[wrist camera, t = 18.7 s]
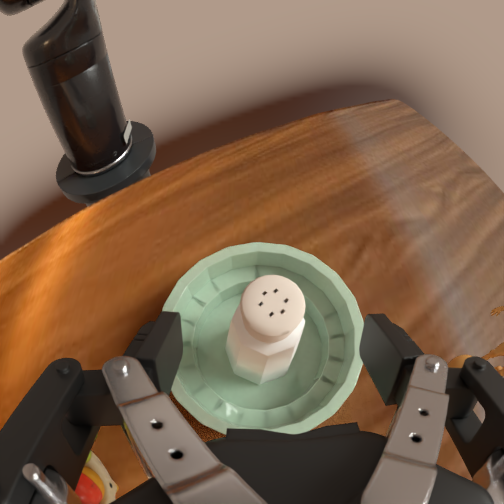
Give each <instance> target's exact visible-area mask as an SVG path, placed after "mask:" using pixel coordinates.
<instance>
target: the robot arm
mask: <svg viewBox="0 0 504 504" xmlns="http://www.w3.org/2000/svg"><path fill="white" fill-rule="evenodd" d="M43 1H44V0H0V11H1V12H2V13H3V14H5V15H15V14H18V13H20V12H22V11H25V10H27V9H29V8H30V7H32V6H34V5H36V4H38V3H40V2H43ZM22 52H23V56H24V59H25V62H26V65H27V68H28V70H29V73H30V76H31V78H32V81H33V83H34V86H35V88H36V90H37V93H38V95H39V98H40V100H41V102H42V105H43V107H44V109H45V112H46V114H47V116H48V118H49V120H50V123H51V125H52V127H53V129H54V131H55V133H56V135H57V137H58V139H59V141H60V143H61V145H62V147H63V149H64V151H65V154H66V156H67V157H68V159H69V161H70V163H71V167H72V169H73V170H74V172H75V173H76V174H77V175H78V176H81V177H86V178H89V177H96V176H99V175H102V174H105V173H107V172H109V171H111V170H113V169H114V168H116V167H117V166H119V165H120V164H121V163H122V162H123V161H124V160H125V159H126V158H127V157H128V156H129V154H130V153H131V151H132V148H133V139H132V136H131V133H130V132H131V129H132V126H131V122H130V120H129V122H128V124H127V122H126V119H125V115H124V112H123V108H122V105H121V102H120V98H119V95H118V91H117V87H116V84H115V80H114V77H113V73H112V69H111V65H110V61H109V57H108V53H107V49H106V45H105V40H104V36H103V32H102V27H101V23H100V18H99V14H98V10H97V5H96V0H65V1H64V3H63V4H62V6H61V7H60V8H59V10H58V11H57V12H56V13H55V15H54V16H53V17H52V18H51V19H50V20H49V21H48V22H47V23H46V24H45V25H44V26H43V27H41V28H40V29H39V30H38V31H37V32H36V33H35V34H34V35H32V36H31V37H30V38H29V40H27V41H26V43H25V44H24V46H23V49H22ZM359 354H360V358H361V360H362V362H363V363H364V365H365V367H366V369H367V371H368V373H369V374H370V376H371V378H372V380H373V382H374V384H375V386H376V388H377V389H378V391H379V393H380V395H381V397H382V399H383V401H384V403H385V405H386V406H387V405H393V404H397V405H398V407H397V409H396V412H395V414H394V417H393V419H392V421H391V424H390V426H389V429H388V431H387V433H386V435H385V436H382V435H379V434H376V433H372V432H366V431H360V430H359V427H358V425H357V422H356V423H348V424H340V425H331V426H325V427H321V428H318V429H314V430H311V431H307V432H303V433H300V434H287V433H281V432H274V431H268V430H263V429H235V428H227V431H226V437H224V438H218V439H214V440H210V441H207V442H205V443H204V442H203V441H202V440H201V438H200V437H199V436H198V435H197V433H196V432H195V431H194V430H193V428H192V427H191V426H190V425H189V423H188V422H187V421H186V419H185V418H184V417H183V416H182V414H181V413H180V412H179V410H178V409H177V407H176V406H175V405H174V403H173V402H172V401H171V399H170V398H169V394H170V391H171V388H172V385H173V382H174V379H175V376H176V373H177V371H178V368H179V365H180V362H181V359H182V355H183V338H182V327H181V316H180V313H179V312H169V311H162V312H161V313H160V315H159V316H158V318H157V320H156V321H155V322H153V321H149V322H148V323H146V324H145V325H143V326H142V327H141V328H140V330H139V331H138V333H137V335H136V336H135V337H134V340H132V342H131V343H130V345H129V346H128V348H127V350H126V351H125V353H124V354H123V356H119V357H114V358H112V359H110V360H108V361H107V362H105V364H104V365H103V367H102V370H82V368H81V364H80V363H79V362H78V361H77V360H75V359H72V358H62V359H58V360H55V361H54V362H52V363H51V364H50V365H49V366H48V367H47V368H46V369H45V371H44V372H43V373H42V374H41V376H40V377H39V378H38V380H37V381H36V382H35V384H34V385H33V386H32V387H31V389H30V390H29V391H28V393H27V394H26V395H25V397H24V398H23V400H22V401H21V402H20V404H19V405H18V406H17V408H16V409H15V411H14V412H13V413H12V415H11V416H10V418H9V419H8V421H7V422H6V423H5V425H4V426H3V428H2V429H1V431H0V504H82V502H81V500H80V498H79V496H78V495H77V494H76V493H75V489H76V487H77V484H78V481H79V479H80V476H81V473H82V471H83V468H84V466H85V463H86V460H87V458H88V455H89V453H90V450H91V448H92V445H93V443H94V441H95V438H96V436H97V433H98V431H99V429H100V426H111V425H121V427H122V429H123V431H124V433H125V435H126V437H127V439H128V441H129V443H130V445H131V447H132V449H133V451H134V453H135V455H136V457H137V459H138V461H139V463H140V465H141V467H142V469H143V471H144V472H145V474H146V476H147V478H148V480H147V481H145V482H144V483H142V484H141V485H139V486H138V487H136V488H134V489H133V490H131V491H130V492H128V493H126V494H125V495H123V496H121V497H120V498H118V499H116V500H115V501H113V502H111V503H109V504H504V378H503V377H502V376H501V375H500V374H499V373H498V372H497V370H496V369H495V368H494V367H493V366H492V365H491V364H490V363H489V362H488V361H486V360H485V359H483V358H480V357H468V358H467V359H466V360H465V361H464V364H463V366H462V368H450V367H448V365H447V363H446V362H445V361H444V360H443V359H442V358H440V357H438V356H435V355H431V354H424V353H423V352H422V351H421V349H420V348H419V347H418V346H417V345H416V344H415V342H414V341H412V339H411V338H410V337H409V336H408V334H407V333H406V332H405V331H404V330H403V329H402V328H401V327H399V326H397V325H396V324H394V323H393V324H392V322H391V321H390V320H389V319H388V318H387V317H386V315H385V314H368V315H367V316H366V318H365V322H364V327H363V331H362V336H361V340H360V345H359ZM477 401H479V403H480V404H481V405H482V407H483V408H484V410H485V420H484V422H483V423H481V422H480V420H479V419H478V417H477V416H476V414H475V413H474V411H473V408H474V407H475V405H476V403H477ZM444 426H445V427H446V429H447V431H448V433H449V434H450V436H451V438H452V440H453V442H454V444H455V445H456V447H457V449H458V451H459V453H460V455H461V457H462V459H463V461H464V463H465V465H466V467H467V469H468V471H469V473H470V475H471V477H472V481H470V480H468V479H466V478H464V477H462V476H459V475H457V474H455V473H453V472H451V471H449V470H447V469H445V468H443V467H441V466H439V465H437V464H436V462H437V458H438V454H439V450H440V445H441V441H442V436H443V431H444Z"/></svg>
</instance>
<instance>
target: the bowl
mask: <svg viewBox="0 0 504 504" xmlns="http://www.w3.org/2000/svg"><path fill="white" fill-rule="evenodd" d="M264 275H279V276H283V277H285V278H288V279H290V280H291V281H292V282H294V283H295V284H296V285H297V286H298V287H299V288H300V290H301V291H302V294H303V296H304V299H305V305H306V306H305V314H304V316H303V318H304V320H305V325H304V328H303V332H302V335H301V338H300V341H299V344H298V347H297V350H296V352H295V355H294V357H293V359H292V362H291V364H290V366H289V369H288V371H287V373H286V375H285V376H283V377H280V378H278V379H275V380H272V381H270V382H267V383H264V384H261V385H258V384H256V383H253V382H251V381H249V380H247V379H244V378H242V377H240V376H238V375H236V374H234V372H233V369H232V367H231V364H230V361H229V358H228V356H227V353H226V350H225V347H226V342H227V337H228V332H229V327H230V323H231V320H232V318H233V315H234V313H235V311H236V309H237V307H238V305H239V304H240V300H241V295H242V293H243V291H244V289H245V288H246V287H247V285H248V284H249V283H250V282H252V281H253V280H255V279H256V278H258V277H261V276H264ZM162 311H169V312H179V313H180V316H181V327H182V338H183V355H182V359H181V362H180V365H179V368H178V371H177V373H176V376H175V379H174V382H173V385H172V388H171V391H172V393H173V395H174V397H175V398H176V400H177V401H178V402H179V403H180V404H181V405H182V406H183V407H184V408H185V409H186V410H187V411H188V412H189V413H190V414H191V415H192V416H193V417H195V418H196V419H197V420H198V421H199V422H200V423H201V424H203V425H205V426H207V427H209V428H211V429H214V430H216V431H218V432H220V433H222V434H225V435H226V431H227V428H235V429H263V430H268V431H274V432H281V433H287V434H300V433H303V432H307V431H309V430H311V429H313V428H314V427H316V426H317V425H319V424H320V423H322V422H323V421H325V420H326V419H328V418H329V417H331V416H332V415H334V414H335V413H336V412H337V410H338V409H339V408H340V407H341V405H342V404H343V403H344V401H345V400H346V399H347V397H348V396H349V395H350V394H351V392H352V391H353V389H354V388H355V385H356V382H357V380H358V377H359V374H360V371H361V368H362V365H363V362H362V360H361V358H360V354H359V345H360V340H361V336H362V331H363V327H364V322H363V319H362V316H361V313H360V310H359V307H358V305H357V302H356V299H355V297H354V296H353V294H352V293H351V291H350V290H349V289H348V287H347V286H346V285H345V283H344V282H343V280H342V279H341V278H340V276H339V275H338V274H337V273H336V272H335V271H333V270H332V269H331V268H329V267H328V266H327V265H326V264H324V263H323V262H322V261H320V260H319V259H318V258H316V257H315V256H313V255H311V254H308V253H306V252H303V251H301V250H298V249H296V248H293V247H290V246H288V245H281V244H271V243H262V242H254V243H248V244H242V245H236V246H231V247H227V248H225V249H223V250H220V251H218V252H216V253H214V254H212V255H210V256H208V257H206V258H204V259H202V260H200V261H199V262H198V263H197V264H195V265H194V266H193V267H192V268H191V269H190V270H189V271H188V272H187V273H186V274H184V275H183V276H182V277H181V278H180V279H179V280H178V282H177V283H176V285H175V287H174V289H173V290H172V292H171V294H170V295H169V297H168V299H167V300H166V302H165V304H164V307H163V309H162Z"/></svg>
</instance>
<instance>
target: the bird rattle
mask: <svg viewBox="0 0 504 504" xmlns="http://www.w3.org/2000/svg"><path fill="white" fill-rule="evenodd" d="M97 434H98V433H97ZM96 438H97V436H96ZM96 438H95V439H96ZM118 488H119V487H118V485H117V484H116V483H115V482H114V481H113V480H112V479H111V477H110V475H109V473H108V472H107V470H106V468H105V467H104V465H103V464H102V462H101V461H100V460H99V458H98V457H97V456H96V455H95V454H94V453H93V452H92V451H91V450H90V453H89V455H88V458H87V460H86V463H85V466H84V468H83V471H82V473H81V476H80V479H79V481H78V484H77V487H76V489H75V493H76V494H77V495H78V496H79V498H80V500H81V502H82V504H109V503H111V502H113V501H115V494H116V492H117V491H118Z"/></svg>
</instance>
